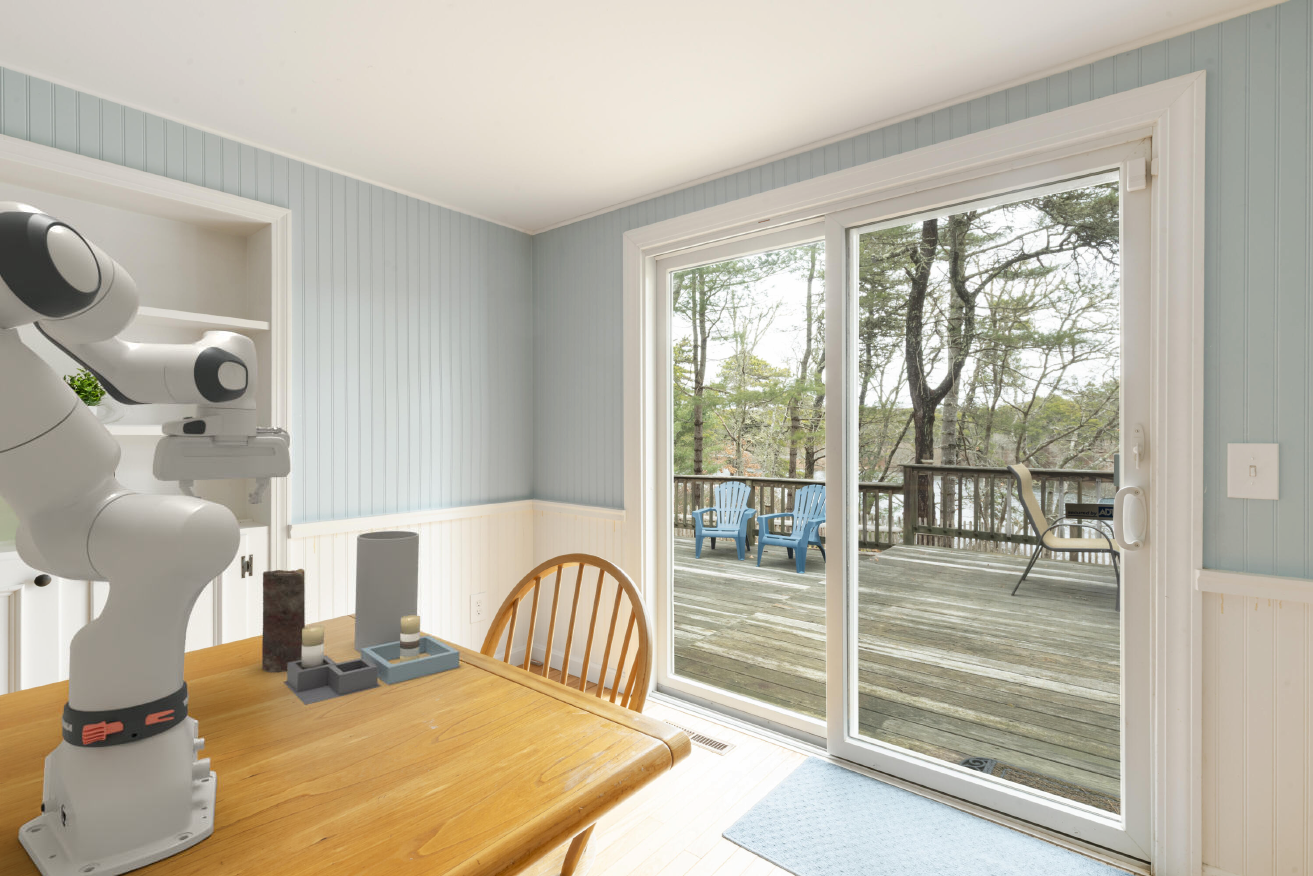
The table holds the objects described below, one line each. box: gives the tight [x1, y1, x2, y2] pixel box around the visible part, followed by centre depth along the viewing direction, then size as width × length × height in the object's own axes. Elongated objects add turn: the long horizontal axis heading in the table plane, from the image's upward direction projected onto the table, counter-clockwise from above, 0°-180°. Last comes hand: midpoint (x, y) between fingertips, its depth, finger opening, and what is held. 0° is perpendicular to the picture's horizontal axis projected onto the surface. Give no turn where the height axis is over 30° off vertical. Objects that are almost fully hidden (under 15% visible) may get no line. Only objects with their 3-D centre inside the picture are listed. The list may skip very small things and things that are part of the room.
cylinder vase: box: [354, 530, 420, 654], centre depth 140 cm, size 12×12×25 cm
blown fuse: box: [399, 614, 421, 663], centre depth 128 cm, size 4×4×10 cm
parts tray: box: [360, 634, 460, 686], centre depth 128 cm, size 14×14×4 cm
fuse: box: [301, 624, 325, 670], centre depth 118 cm, size 4×4×10 cm
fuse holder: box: [283, 654, 381, 706], centre depth 118 cm, size 14×13×4 cm
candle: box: [261, 568, 306, 673], centre depth 126 cm, size 8×7×20 cm
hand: (225, 505), depth 112 cm, fingers open, 8 cm apart
